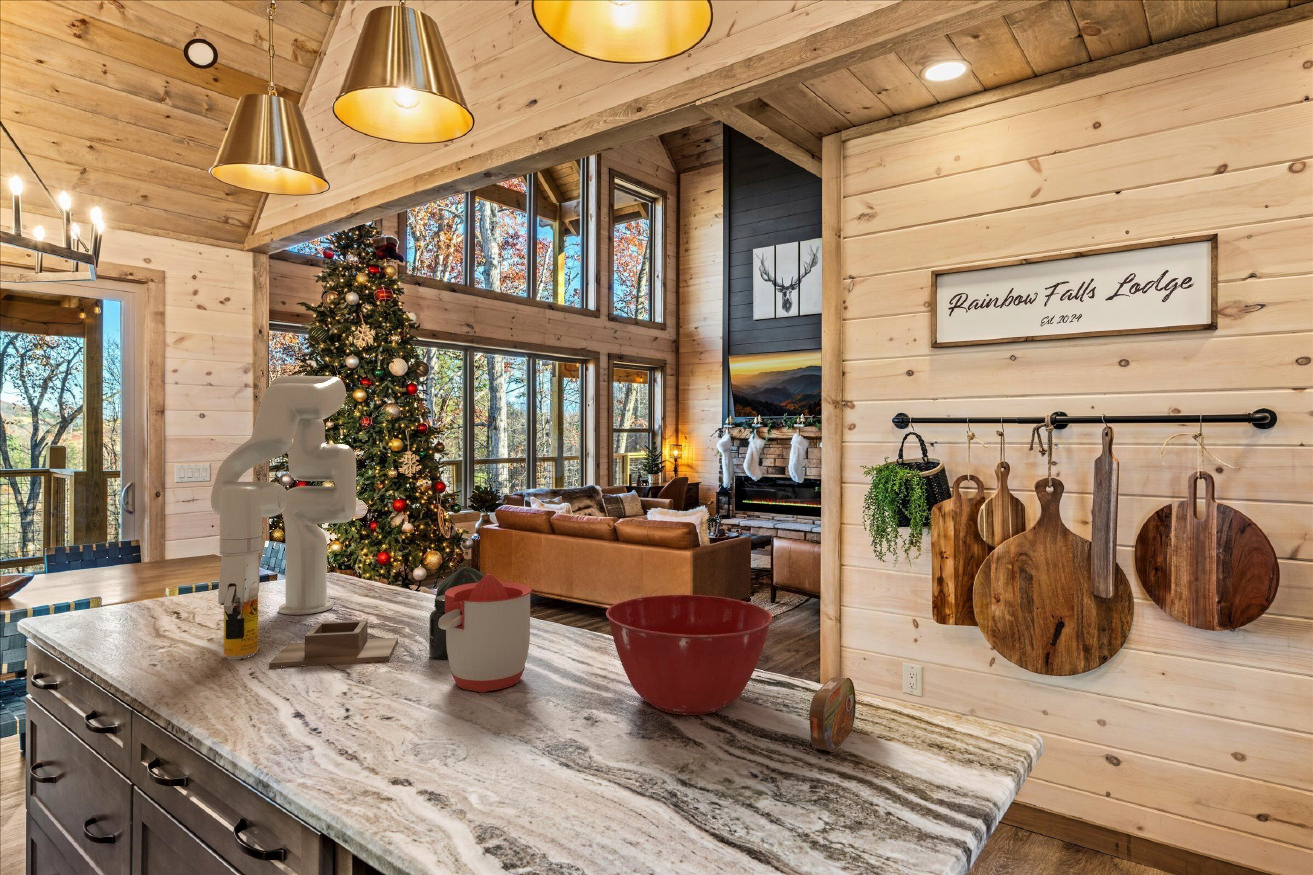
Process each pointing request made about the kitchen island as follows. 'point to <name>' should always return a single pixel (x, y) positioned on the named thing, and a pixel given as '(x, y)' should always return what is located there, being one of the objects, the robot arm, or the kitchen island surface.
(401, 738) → the kitchen island surface
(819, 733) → the tin
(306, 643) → the can caddy
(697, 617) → the mixing bowl
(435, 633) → the supplement bottle
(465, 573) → the squash
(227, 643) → the beer can
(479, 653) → the citrus juicer
